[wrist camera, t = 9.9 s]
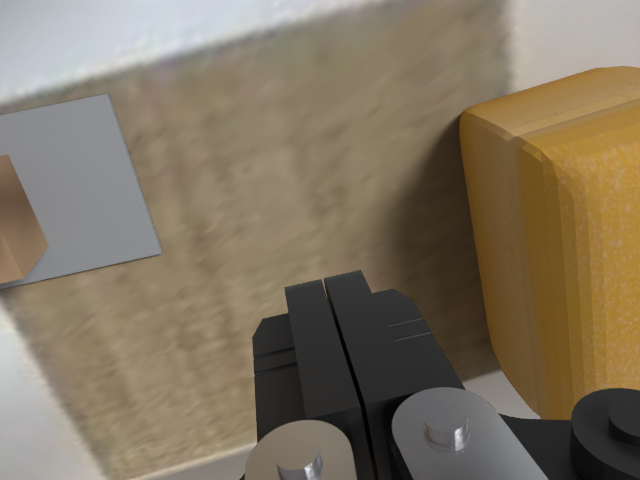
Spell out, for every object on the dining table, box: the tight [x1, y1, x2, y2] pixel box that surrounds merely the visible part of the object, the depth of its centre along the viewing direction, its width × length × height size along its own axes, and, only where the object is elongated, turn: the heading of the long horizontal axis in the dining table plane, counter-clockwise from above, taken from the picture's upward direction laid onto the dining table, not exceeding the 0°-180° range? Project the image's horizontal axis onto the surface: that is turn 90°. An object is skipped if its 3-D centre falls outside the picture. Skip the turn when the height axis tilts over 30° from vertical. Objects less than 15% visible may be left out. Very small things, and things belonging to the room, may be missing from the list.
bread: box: [459, 66, 640, 420], centre depth 38 cm, size 24×13×15 cm, turn 15°
